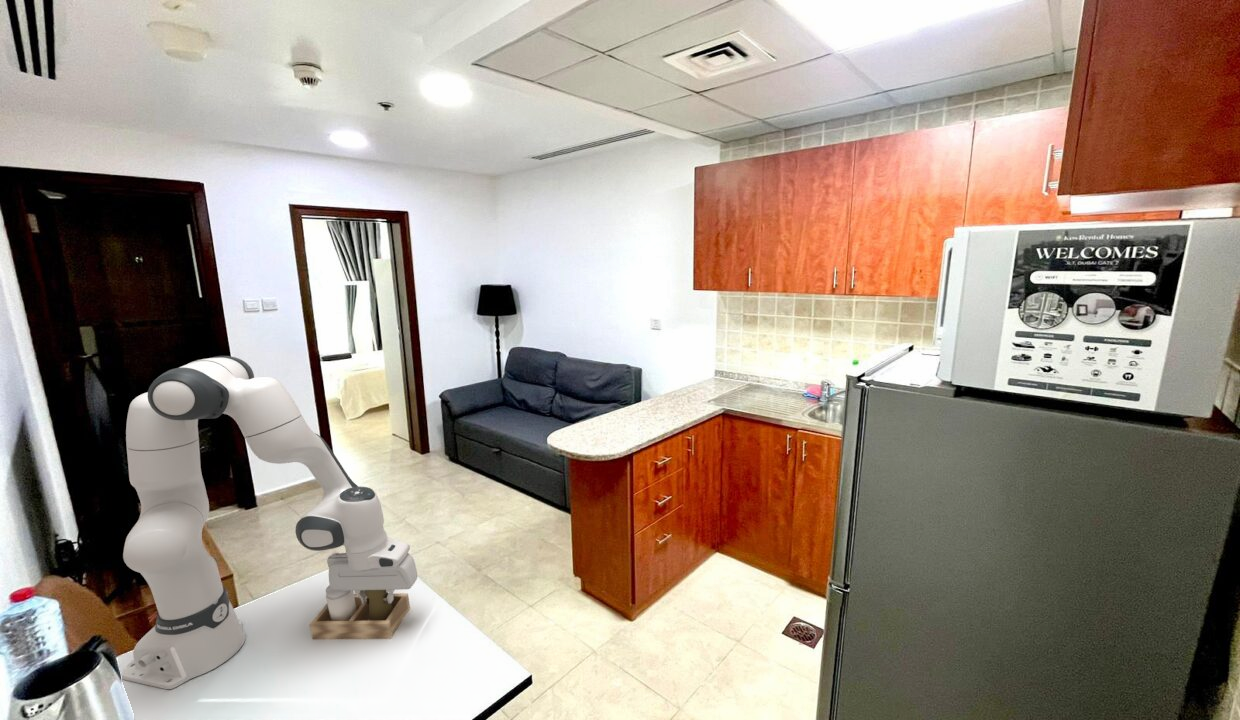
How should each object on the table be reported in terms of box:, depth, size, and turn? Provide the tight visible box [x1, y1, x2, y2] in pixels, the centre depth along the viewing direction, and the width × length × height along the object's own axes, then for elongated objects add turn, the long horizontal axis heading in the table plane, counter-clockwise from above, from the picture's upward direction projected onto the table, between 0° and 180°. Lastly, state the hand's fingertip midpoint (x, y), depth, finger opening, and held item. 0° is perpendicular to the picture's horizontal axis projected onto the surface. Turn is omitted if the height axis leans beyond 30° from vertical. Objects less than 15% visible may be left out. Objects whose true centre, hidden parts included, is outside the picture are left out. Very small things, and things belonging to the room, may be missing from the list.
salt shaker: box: [325, 584, 357, 621], centre depth 116 cm, size 6×6×10 cm
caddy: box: [308, 592, 411, 641], centre depth 117 cm, size 19×10×5 cm, turn 88°
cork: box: [365, 590, 394, 621], centre depth 116 cm, size 6×6×11 cm
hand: (378, 602), depth 116 cm, fingers open, 4 cm apart
